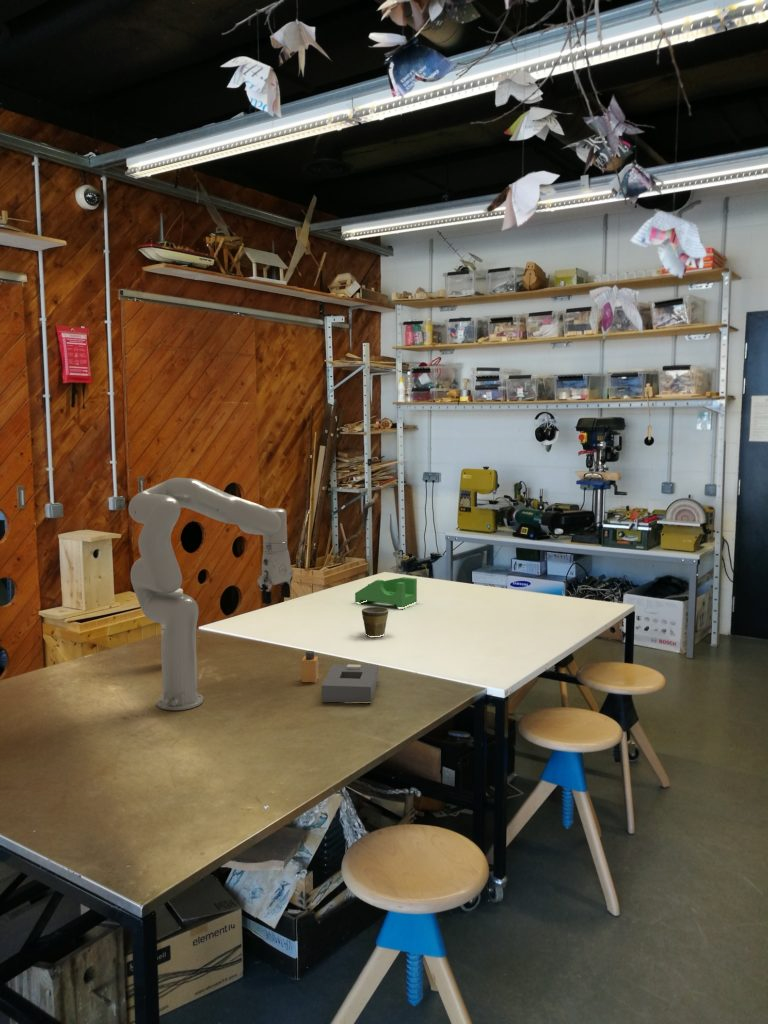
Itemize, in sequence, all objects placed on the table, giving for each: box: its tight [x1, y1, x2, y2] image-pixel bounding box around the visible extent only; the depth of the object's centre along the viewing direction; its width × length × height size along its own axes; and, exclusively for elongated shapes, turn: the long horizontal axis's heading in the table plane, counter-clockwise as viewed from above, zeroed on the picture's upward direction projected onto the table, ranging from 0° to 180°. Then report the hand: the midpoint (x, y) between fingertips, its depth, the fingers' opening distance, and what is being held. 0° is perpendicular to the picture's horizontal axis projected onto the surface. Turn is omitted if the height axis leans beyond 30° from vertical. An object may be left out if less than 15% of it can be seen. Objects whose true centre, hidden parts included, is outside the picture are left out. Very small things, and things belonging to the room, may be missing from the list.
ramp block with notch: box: [354, 576, 418, 608], centre depth 341 cm, size 24×13×12 cm, turn 59°
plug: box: [301, 650, 319, 683], centre depth 237 cm, size 4×4×9 cm
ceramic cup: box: [361, 606, 389, 636], centre depth 290 cm, size 13×10×10 cm
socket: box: [321, 663, 379, 703], centre depth 227 cm, size 20×14×6 cm
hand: (276, 600), depth 244 cm, fingers open, 9 cm apart
